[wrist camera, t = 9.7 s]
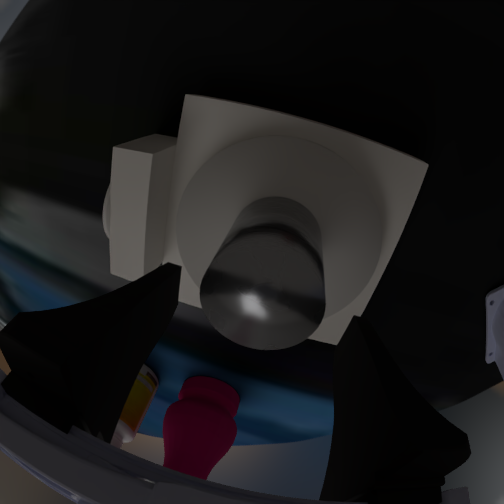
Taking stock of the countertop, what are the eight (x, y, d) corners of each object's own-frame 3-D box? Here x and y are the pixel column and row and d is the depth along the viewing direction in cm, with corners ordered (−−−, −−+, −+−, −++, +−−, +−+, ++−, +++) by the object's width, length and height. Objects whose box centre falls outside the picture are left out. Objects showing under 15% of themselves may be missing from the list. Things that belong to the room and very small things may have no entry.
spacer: (332, 264, 17) (339, 336, 12) (252, 286, 19) (231, 357, 14) (304, 183, 15) (302, 230, 10) (218, 213, 17) (178, 268, 12)
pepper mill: (170, 391, 31) (105, 543, 14) (193, 361, 28) (115, 552, 10) (226, 418, 32) (181, 570, 15) (257, 393, 29) (212, 580, 11)
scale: (417, 158, 16) (452, 179, 12) (341, 328, 23) (345, 380, 18) (156, 89, 17) (109, 90, 12) (138, 269, 24) (105, 309, 19)
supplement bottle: (115, 347, 29) (69, 419, 21) (162, 368, 29) (123, 448, 21) (117, 375, 32) (79, 440, 23) (158, 394, 32) (126, 464, 23)
